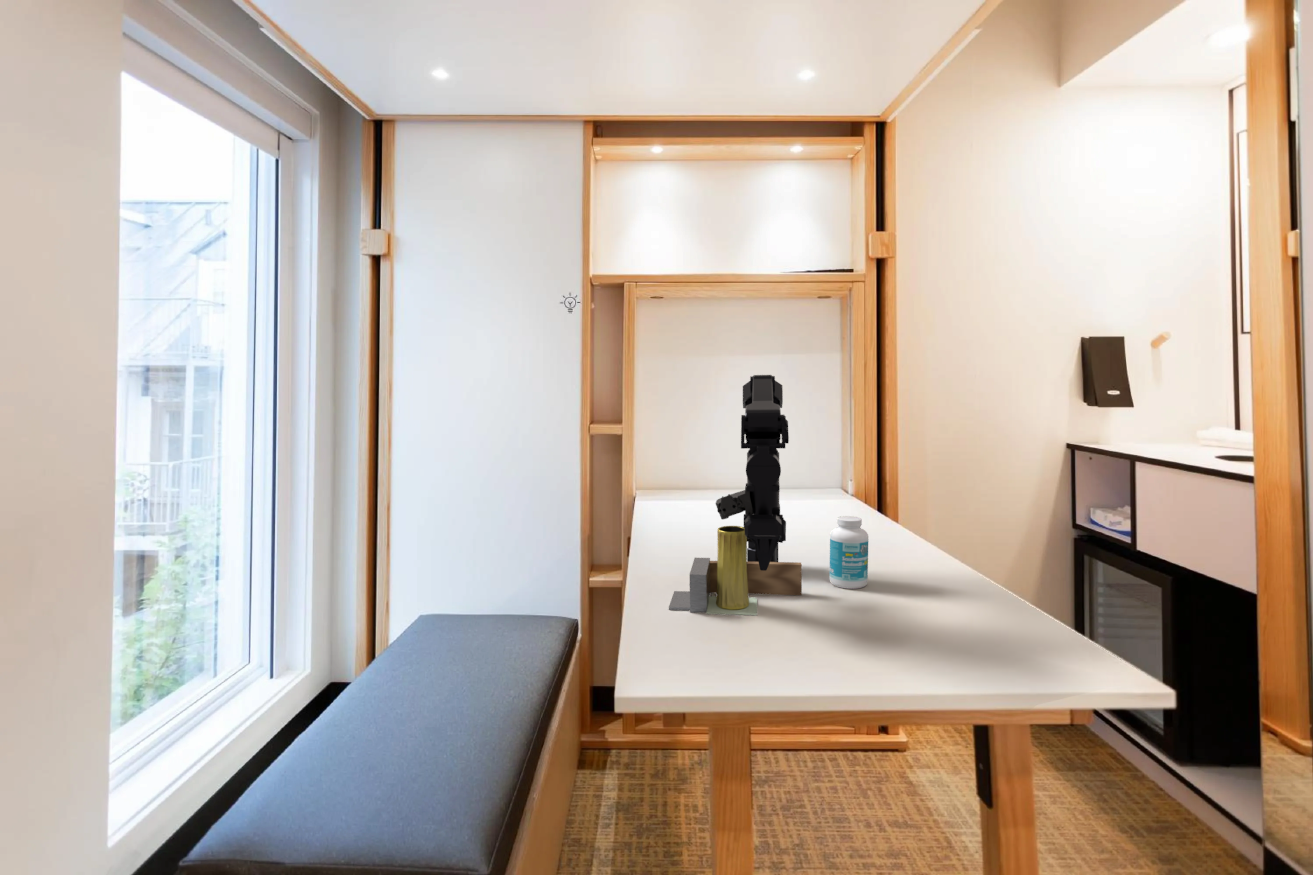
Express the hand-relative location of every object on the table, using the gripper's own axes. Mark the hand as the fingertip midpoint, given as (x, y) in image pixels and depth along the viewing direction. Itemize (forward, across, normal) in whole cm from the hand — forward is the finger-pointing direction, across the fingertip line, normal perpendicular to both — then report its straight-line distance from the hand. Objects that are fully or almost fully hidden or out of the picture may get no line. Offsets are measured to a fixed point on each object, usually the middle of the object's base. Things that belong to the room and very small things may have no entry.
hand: (763, 562), depth 121 cm
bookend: (+8, -1, -14) cm, 16 cm away
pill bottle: (+8, -15, +17) cm, 24 cm away
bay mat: (+8, 0, -6) cm, 10 cm away
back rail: (+8, -8, -3) cm, 12 cm away
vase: (+8, 0, -6) cm, 10 cm away
